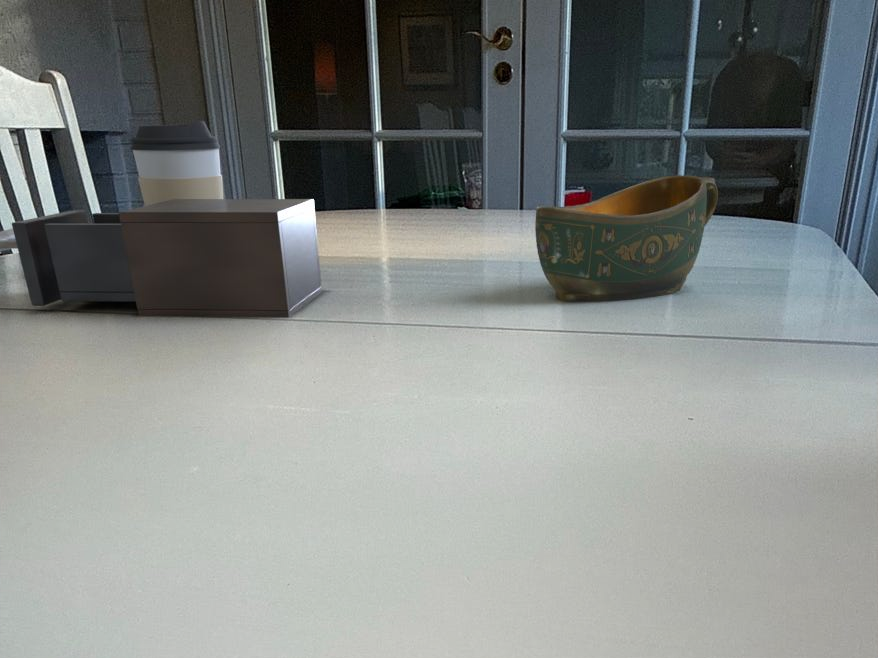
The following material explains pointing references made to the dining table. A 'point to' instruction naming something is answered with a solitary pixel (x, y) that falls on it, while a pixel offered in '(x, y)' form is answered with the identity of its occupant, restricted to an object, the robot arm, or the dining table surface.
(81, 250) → the drawer
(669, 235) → the creamer
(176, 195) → the coffee cup
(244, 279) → the cabinet
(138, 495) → the dining table surface
